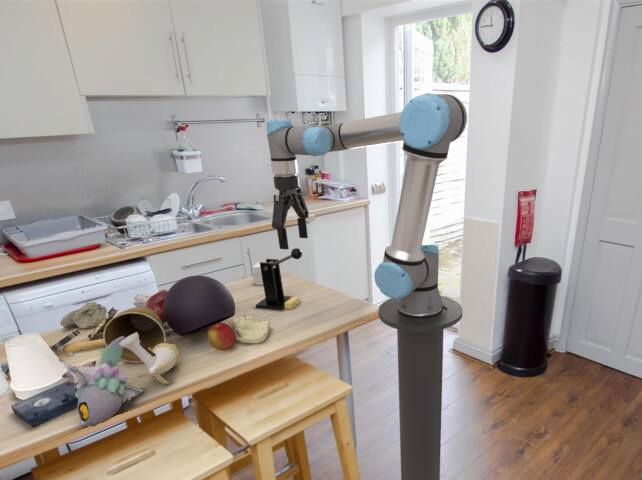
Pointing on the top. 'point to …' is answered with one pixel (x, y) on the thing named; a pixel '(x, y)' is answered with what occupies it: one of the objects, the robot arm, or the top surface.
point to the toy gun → (153, 356)
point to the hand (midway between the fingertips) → (294, 243)
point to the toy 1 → (64, 340)
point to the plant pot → (135, 330)
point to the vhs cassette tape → (46, 404)
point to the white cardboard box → (257, 274)
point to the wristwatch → (5, 368)
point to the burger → (103, 323)
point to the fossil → (85, 316)
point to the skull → (141, 300)
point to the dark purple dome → (197, 304)
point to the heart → (157, 304)
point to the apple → (221, 336)
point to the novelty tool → (95, 344)
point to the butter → (292, 302)
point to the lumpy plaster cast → (250, 330)
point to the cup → (32, 365)
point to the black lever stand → (272, 287)
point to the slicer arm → (295, 254)
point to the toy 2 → (100, 386)
